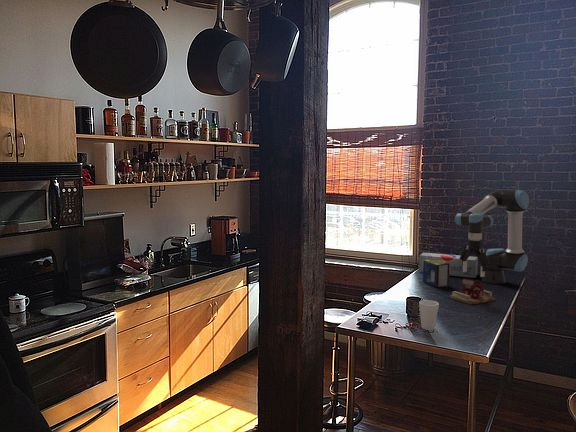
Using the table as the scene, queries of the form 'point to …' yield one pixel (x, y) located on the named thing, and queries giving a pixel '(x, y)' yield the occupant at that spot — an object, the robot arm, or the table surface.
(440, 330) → the table surface
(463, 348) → the table surface
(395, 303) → the table surface
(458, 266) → the soda pack
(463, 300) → the cradle
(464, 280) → the toy fire truck
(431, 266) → the protein box
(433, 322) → the foam cup
